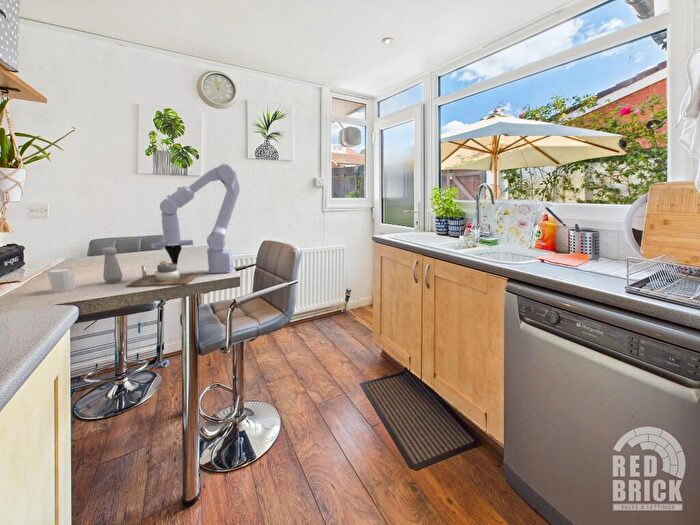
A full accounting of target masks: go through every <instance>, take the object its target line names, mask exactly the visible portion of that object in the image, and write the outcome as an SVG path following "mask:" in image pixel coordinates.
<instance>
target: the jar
mask: <svg viewBox="0 0 700 525" xmlns="http://www.w3.org/2000/svg"><path fill="white" fill-rule="evenodd" d="M180 274H181V272H180V269H179V268H177V270H175V271H171V272H158V270H156V271H155V272H154V275H156V281H172V280H177V279H179V278H180Z"/></svg>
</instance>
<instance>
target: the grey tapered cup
mask: <svg viewBox="0 0 700 525" xmlns="http://www.w3.org/2000/svg"><path fill="white" fill-rule="evenodd" d="M46 273H47V276H48V279H49V283H50V286H51V289H52V292H53V293H55V292H60V293H66V292H65V291H68V292H71V291H70V290H72V291H74V290H75V288H76V286H75V285H76V284H75V269H74V268H70V267H69V268H68V267H66V268H57V269H56V268H55V269H51V270H48V271H47V272H46ZM73 289H74V290H73Z"/></svg>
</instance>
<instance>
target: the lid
mask: <svg viewBox="0 0 700 525" xmlns="http://www.w3.org/2000/svg"><path fill="white" fill-rule="evenodd" d="M156 269H157V270H156V271H158V272H171V271H175V270H177V269H178V267H177V265H176V264H175V263H172V262H171V263H170V262H166V261H165V260H164V261H163V260H162V261H159V264H157V265H156Z"/></svg>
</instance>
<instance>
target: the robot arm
mask: <svg viewBox="0 0 700 525" xmlns="http://www.w3.org/2000/svg"><path fill="white" fill-rule="evenodd" d="M237 176H238V175H237V172H236V170H235V169H234V167H233V166H232V165H230V164H228V163H221V164H220V165H219V166H217V167H214V168H212V169H210V170H208V171H207V172H206V173H204V174H202V176H200V177H199V178H197V180H195V181H194V182H193V183H192V184H190V185H189V186H184V185H182V186H178V187H177V188H176V191H175V192H173V193H171V194H170V195H167V196H166V198H165V199H163V200H162V201H161V202H160V204H159V210H160V211H161V226H162V234H163V241H158V242H151V243H150V246H151V249H161V248H164V249H165V250H166V252H167V254H168V255H169V258H170V261H171V263H175V264H176V266H177V265H178V262H179V261H178V260H179V257H180V253H181V251H182V248H183V247H184V246H193V245H194V241H193V239H184V240H183V239H182V240H181V231H180V224H179V223H180V222H179V218H178V212H177V211H178V209H179V208H183V207H185V205H187V204H188V203H190V202H191V201H192V200H194V199H195V193H197V192H198V191H199V190H200V189H202V188H203V187H205V186H206V185H208V184H209V183H211V182H215V181H220V182H221V183H222V184H223V186H224V188H225V189H226V191H225V195H224V198H223V200H222V204H221V207H220V209H219V212H218V215H217V218H216V222H215V224H214V226H213V229H212V231H211V233H210V234H209V235H208V236H207V238H206V243H207V245H208V247H209V248H207V250H206V253H207V262H208V263H207V264H208V270H206V272H205V274H220V273H221V274H222V273H223V274H224V273H225V274H226V273H230V272H232V270H233V269H234V264H233V262H234V261H233V252H232V250H228V249H226V248H225V245H226V242H225V238H226V234H227V229H228V226H229V222H230V221H231V217H232V215H233V212H234V208H235V206H236V203H237V200H238V197H239V194H240V192H241V188H240V184H239V181H238V177H237ZM182 246H183V247H182Z"/></svg>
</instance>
